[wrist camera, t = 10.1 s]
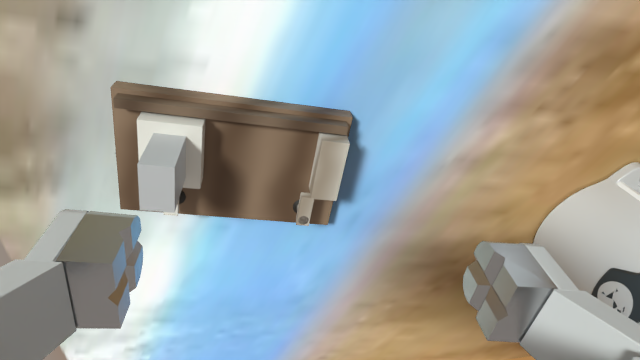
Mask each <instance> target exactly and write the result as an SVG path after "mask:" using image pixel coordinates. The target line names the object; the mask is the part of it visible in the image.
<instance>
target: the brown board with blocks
mask: <svg viewBox="0 0 640 360" xmlns="http://www.w3.org/2000/svg"><path fill="white" fill-rule="evenodd" d="M111 97H112V109H113V122H114V134H115V146H116V158H117V170H118V183H119V195H120V207H121V209H128V210H140V205H139V186H138V167H137V164H138V162H139V157H138V137H137V118H138V117H139V115H140V113H141V112H142V111H145V112H153V113H162V114H170V115H179V116H187V117H196V118H204V119H205V143H204V169H203V180H202V184H201V188H200V189H193V188H182V191H181V194H180V197H179V198H180V199H179V213H180V214H193V215H206V216H219V217H232V218H245V219H258V220H271V221H284V222H296V225H306V226H309V223H310V224H323V225H328V221H329V217H330V213H331V208H332V204H333V201H336V200H337V196H338V192H339V188H340V183H341V179H342V175H343V171H344V167H345V162H346V158H347V154H348V150H349V146H350V143H349V140H348V136H349V131H350V127H351V123H352V119H353V117H352V115H351V113H350V111H345V110H337V109H330V108H322V107H314V106H306V105H298V104H291V103H283V102H275V101H267V100H260V99H252V98H244V97H236V96H228V95H221V94H213V93H205V92H197V91H190V90H182V89H174V88H166V87H158V86H151V85H143V84H135V83H127V82H120V81H116V82H115V83H114V84H113V85H112V86H111ZM141 211H145V210H141ZM154 212H158V211H154Z"/></svg>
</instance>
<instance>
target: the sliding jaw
mask: <svg viewBox="0 0 640 360" xmlns="http://www.w3.org/2000/svg"><path fill="white" fill-rule="evenodd" d="M137 137H138V157H139V162H138V164H137V167H138V186H139V205H140V210H145V211H158V212H164V215H174V216H178V213H179V199H180V198H179V197H180V194H181V191H182V188H193V189H200V188H201V184H202V180H203V169H204V143H205V119H204V118H196V117H187V116H179V115H170V114H162V113H153V112H145V111H142V112H141V113H140V115H139V117H138V118H137Z"/></svg>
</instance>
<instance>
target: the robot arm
mask: <svg viewBox="0 0 640 360" xmlns="http://www.w3.org/2000/svg"><path fill="white" fill-rule="evenodd" d="M140 232H141V224H140V218H139V217H138V216H137V215H126V214H116V213H105V212H95V211H90V212H89V211H81V210H69V209H65V210H62V211H60V212H59V213H58V214H57V216H56V217H55V218H54V220H53V221H52V222H51V224H50V225H49V227H48V228H47V229H46V231H45V232H44V233H43V235H42V236H41V237H40V239H39V240H38V241H37V243H36V244H35V245H34V247H33V248H32V249H31V251H30V252H29V253H28V255H27V256H26V257H25V259H24V260H14V261H12V262H10V263H8V264H6V265H4V266H2V267H0V360H43V359H44V358H45V357H46V356H47V355H48V354H50V353H51V352H52V351H53V350H54V349H55V348H56V347H58V346H59V345H60V344H61V343H62V342H64V341H65V340H66V339H67V338H68V337H69V336H71V335H72V334H73V333H74V332H75V331H76V328H121V326H122V323H123V321H124V318H125V315H126V313H127V310H128V308H129V305H130V296H129V292H131V291H132V290H133V289H135V288H136V287H137V284H138V281H139V278H140V274H141V269H142V262H143V247H142V245H141V244H140V243H139V242H138V241H137V240H138V237H139V235H140ZM474 255H475V258H476V261H474V262H473V263H472V264H470V265H469V266H467V269H466V271H465V274H464V276H463V290H464V294H465V297H466V299H467V301H468V303H469V304H470V305H471V306H473V307H474V308H475V309H476V310H478V312H477V316H476V319H477V321H478V323H479V325H480V327H481V329H482V331H483V333H484V335H485V337H486V339H487V341H503V342H519V343H520V345H521V346H522V347H523V348H524V349H525V350H526V351H527V352H528V353H529V354H530V355H531V356H532V357H534V358H535V359H536V360H640V163H637V162H634V163H630V164H628V165H626V166H624V167H623V168H621V169H620V170H618V171H617V172H616V173H614V174H613V175H611V176H610V177H609V178H607V179H606V180H604V181H601V182H599V183H597V184H594V185H592V186H589V187H587V188H584V189H582V190H580V191H578V192H577V193H575V194H573V195H572V196H570V197H568V198H567V199H566V200H564V201H563V202H562V203H560V204H559V205H558V206H557V207H556V208H555V209H554V210H553V211H552V212H551V213H550V214H549V215H548V216H547V217H546V218H545V220H544V221H543V222H542V224H541V226H540V227H539V229H538V231H537V233H536V236H535V238H534V242H533V244H528V243H519V244H516V243H502V242H487V241H482V242H481V243H480V244H479V245H477V247H476V249H475V251H474Z"/></svg>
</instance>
